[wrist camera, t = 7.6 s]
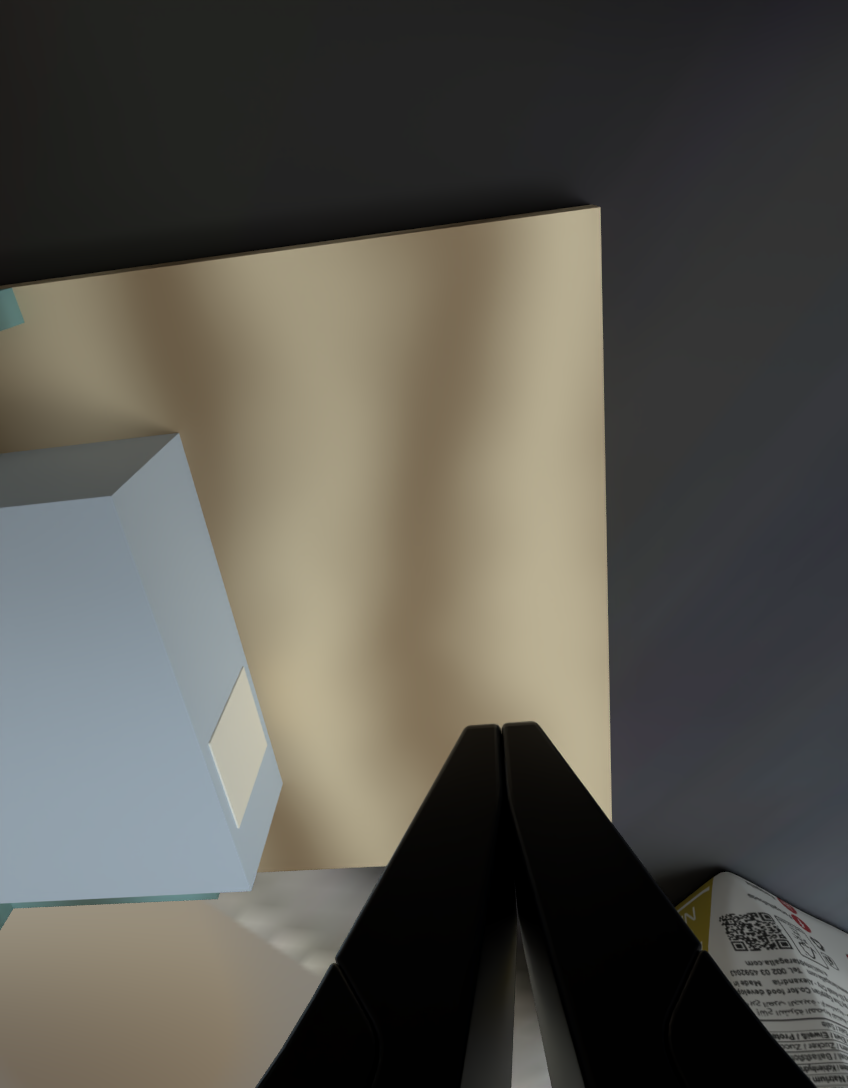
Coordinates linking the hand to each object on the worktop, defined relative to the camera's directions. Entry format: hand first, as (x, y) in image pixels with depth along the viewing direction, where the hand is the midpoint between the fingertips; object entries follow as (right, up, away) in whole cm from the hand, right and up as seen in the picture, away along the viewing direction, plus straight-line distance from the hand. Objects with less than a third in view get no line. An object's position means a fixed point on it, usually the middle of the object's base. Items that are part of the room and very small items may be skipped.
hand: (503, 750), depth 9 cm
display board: (-7, 0, +14) cm, 15 cm away
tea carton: (-11, -1, +13) cm, 17 cm away
